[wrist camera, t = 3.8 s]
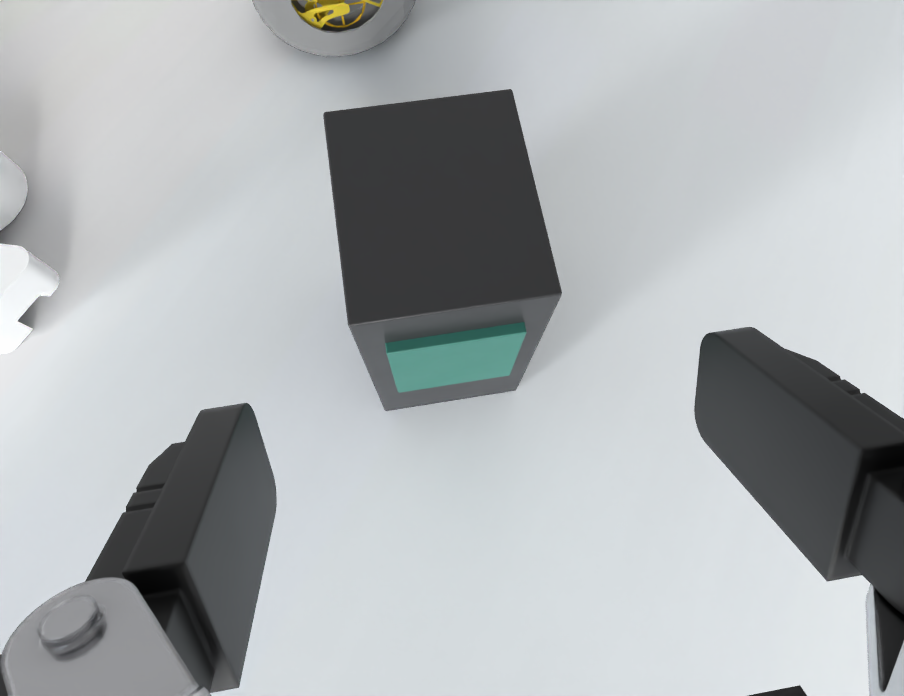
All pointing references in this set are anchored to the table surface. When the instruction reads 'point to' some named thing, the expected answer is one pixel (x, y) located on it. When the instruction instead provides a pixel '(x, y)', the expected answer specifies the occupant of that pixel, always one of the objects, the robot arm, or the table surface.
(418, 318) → the dark grey rectangular block
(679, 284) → the table surface
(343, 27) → the pocket watch
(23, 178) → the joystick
